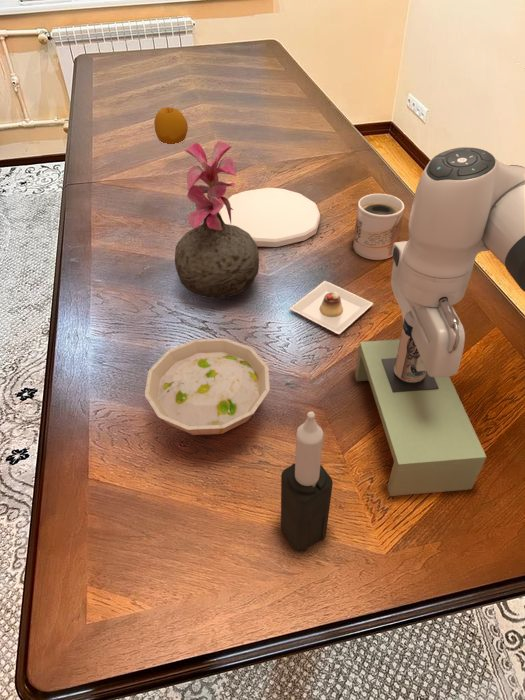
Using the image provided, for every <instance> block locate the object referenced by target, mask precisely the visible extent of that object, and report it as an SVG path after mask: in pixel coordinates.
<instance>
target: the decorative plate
mask: <svg viewBox="0 0 525 700" xmlns="http://www.w3.org/2000/svg"><path fill="white" fill-rule="evenodd" d="M227 199H228V200H229V202H230V206H231V208H232V209H233V210H231V223H230V219H229V215H228V212H227V208H226V206H225V205H224V204H223V208H222V209H221V210H220V211H219V214H220V215H221V217H222V220H223V221H224V223H225V224H229V225H234V226H237V227H239V228H241V229H243V230H244V231H246V232H247V233H249V234H250V236H251V237H252V238H253V240H254V242H255V243H256V245H257V247H263V248H279V247H282V246H288V245H292V244H296V243H300V242H304V241H306V240H307V239H309V238H311V237H312V236H314V235H316V234H317V232H318V228H319V225H320V223H321V214H320V211H319V208H318V205H317V204H316V203H315V202H314V201H312V200H311V199H309V198H308V197H306V196H305V195H304V194H301V193H299V192H296V191H292V190H288V189H285V188H277V187H263V188H256V189H250V190H244V191H241V192H238V193H235V194H232V195H231V196H229V197H228V198H227Z"/></svg>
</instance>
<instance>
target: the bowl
mask: <svg viewBox="0 0 525 700" xmlns="http://www.w3.org/2000/svg"><path fill="white" fill-rule="evenodd" d="M270 391H271V386H270V370H269V364H267V363H266V362H265V360H264V359H262V358H261V356H260V355H259V354H258V352H256V350H254V348H253V347H251V346H248V345H246V344H243V343H240V342H237V341H235V340H231V339H228V338H225V337H224V338H220V337H219V338H197V339H196V338H195V339H193V340H191V341H187V342H185V343H183V344H180V345H178V346H176V347H173V348H170V349H168V350H166V352H165V353H164V354H163V355H162V356H161V357H160V358H159V359H158V360H157V361H156V362H155V363H154V364H153V365H152V366H151V368H149V370H148V371H147V377H146V384H145V390H144V397H145V398H146V400H147V401H148V403H149V404H150V407H151V408H152V409H153V411H154V413H155V414H156V416H157V418H159V419H160V420H162V421H164V422H165V423H166V424H167V425H170V426H172V427H174V428H177V429H179V430H181V431H183V432H186V433H188V434H189V435H192V436H197V435H198V436H200V435H207V436H208V435H219V434H220V435H222V434H224V433H227V432H228V431H230V430H232V429H234V428H237V427H238V426H240V425H242V424H244V423H247V422H248V421H249V420H250V419H251V417H252V416H253V415H254V414H255V412H256V411H257V410H258V408H259V407H260V405H261V403H262V402H263V401H264V399H265V398H266V396H267V395H268V393H269V392H270Z"/></svg>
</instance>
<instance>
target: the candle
mask: <svg viewBox="0 0 525 700" xmlns="http://www.w3.org/2000/svg"><path fill="white" fill-rule="evenodd" d="M315 418H316V413H315V412H314V411H309V412H307V414H306V420H305V421H304V422H303V423H302V424H300V425H299V426H298V427H297V430H296V434H295V435H296V437H295V460H294V463H292V464H291V465H290V466H288V467H286V468H284V469H283V471H282V472H281V476H280V530H281V533H283V535H284V536H285V538H286V540H287V541H288V543H290V545H291V547H292V548H293V549H294V550H295V551H296V552H299V553H303V552H306V551H307V550H308V548H310V547H311V546H313V545H315V544H317V542H319V541H323V540H325V538H326V535H327V530H328V524H329V523H328V522H329V516H330V508H331V499H332V492H333V483H334V482H333V479H332V477H331V476H330V474H329V473H328V472H327V471H326V469H325V468H324V466H323V465H322V455H323V454H322V453H323V442H324V431H323V428H322V427H321V426H320V425H319V424H318V423H317V421H316V419H315Z"/></svg>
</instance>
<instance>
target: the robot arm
mask: <svg viewBox="0 0 525 700" xmlns="http://www.w3.org/2000/svg"><path fill="white" fill-rule="evenodd" d="M407 225H408V240H403V241H398V242H395V243H394V244H393V248H392V258H393V260H392V267H391V277H390V283H391V285H390V286H391V290H392V294H393V295H394V298H395V300H396V302H397V305H398V307H399V310H400V312H401V314H402V315H401V316H402V324H403V323H404V319H405V315H406V313H408V312H409V311H410V314H411V316H412V318H413V329H412V338H413V340H414V343H415V345H416V347H417V350H418V352H419V354H420V356H415V361H414V365H415V367H416V370H417V371H427V373H428V375H429V376H430V377H448V376H449V377H453V376H455V375H457V373H458V372H459V370H460V366H461V362H462V357H463V353H464V349H465V343H466V333H465V332H466V331H465V328H464V325H463V323H462V322H461V319H460V317H459V316H458V314H457V312H456V310H455V308H454V306H455V305H456V304H458V303H460V301H462V300H463V299H464V297H465V295H466V292H467V289H468V286H469V282H470V278H471V276H472V273H473V269H474V266H475V261H476V258H477V256H478V255H479V254H480V253H482V252H490V253H491V254H493V256H494V257H495V258H496V259H497V260H498V261H499V262H500V263H501V264H502V265H503V266H504V267H505V270H506V271H507V272H508V274H509V275H510V276H511V278H512V279H513V280H514V282H515V283H516V284H517V285H518V287H519V288H520V289H521V290H522V291H523V292H524V293H525V166H523V165H518V164H509V165H508V164H505V163H502V162H501V161H500V160H498V159H496V157H495V156H494V155H493V154H492V153H490V152H489V151H488V150H485V149H482V148H477V147H471V146H470V147H467V146H466V147H465V146H464V147H462V146H461V147H455V148H451V149H448V150H445V151H441V152H440V153H437V154H436V155H434V157H432V158H431V159H430V160H429V162H428V163H427V164H426V166H425V168H424V170H423V171H422V173H421V176H420V178H419V180H418V182H417V186H416V188H415V192H414V196H413V199H412V203H411V209H410V214H409V218H408V224H407Z"/></svg>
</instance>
